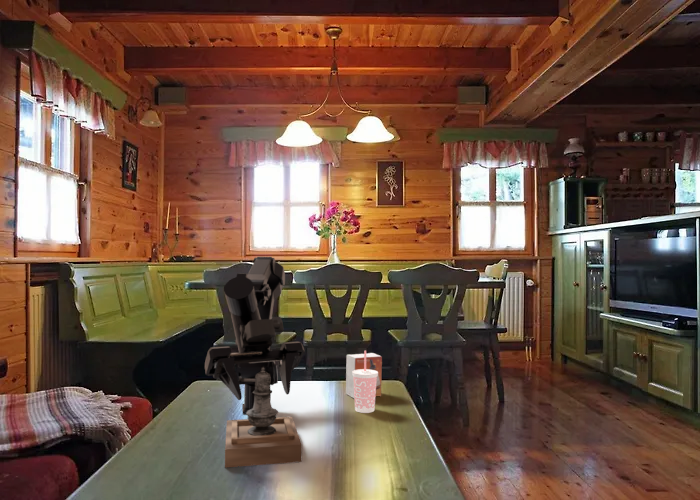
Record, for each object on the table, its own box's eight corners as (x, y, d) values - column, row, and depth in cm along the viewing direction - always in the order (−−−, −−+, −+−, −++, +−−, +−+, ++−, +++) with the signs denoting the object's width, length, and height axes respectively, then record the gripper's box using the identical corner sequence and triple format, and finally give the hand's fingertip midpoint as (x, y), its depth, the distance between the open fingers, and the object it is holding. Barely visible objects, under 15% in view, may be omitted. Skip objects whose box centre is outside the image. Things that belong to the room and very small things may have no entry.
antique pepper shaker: (265, 438, 91) (266, 371, 91) (239, 433, 93) (240, 368, 94) (283, 429, 96) (284, 365, 96) (258, 424, 99) (259, 362, 99)
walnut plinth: (226, 435, 101) (227, 416, 101) (291, 431, 104) (292, 412, 104) (224, 467, 85) (225, 444, 85) (301, 461, 88) (301, 439, 88)
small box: (353, 399, 129) (354, 357, 129) (345, 394, 134) (345, 354, 134) (382, 396, 132) (382, 355, 132) (372, 391, 137) (373, 352, 137)
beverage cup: (346, 409, 120) (347, 349, 120) (366, 404, 124) (366, 347, 124) (363, 415, 115) (363, 353, 116) (383, 410, 119) (383, 351, 119)
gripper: (208, 304, 94) (221, 376, 84) (301, 301, 103) (323, 366, 93) (199, 340, 101) (210, 411, 91) (287, 335, 110) (306, 399, 100)
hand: (264, 396), depth 94 cm, fingers open, 9 cm apart
